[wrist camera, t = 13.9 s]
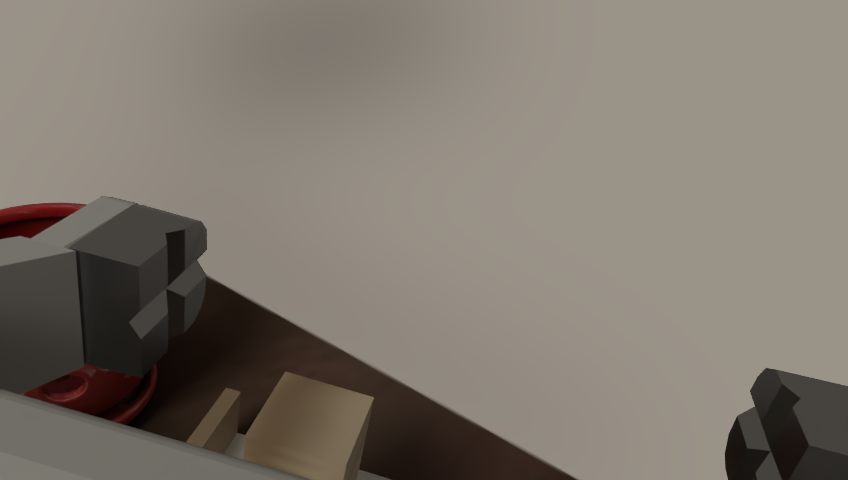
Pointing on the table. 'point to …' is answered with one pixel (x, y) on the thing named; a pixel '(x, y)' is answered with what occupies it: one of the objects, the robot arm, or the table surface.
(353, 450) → the beech block
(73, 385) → the plant pot
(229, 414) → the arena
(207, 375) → the table surface
